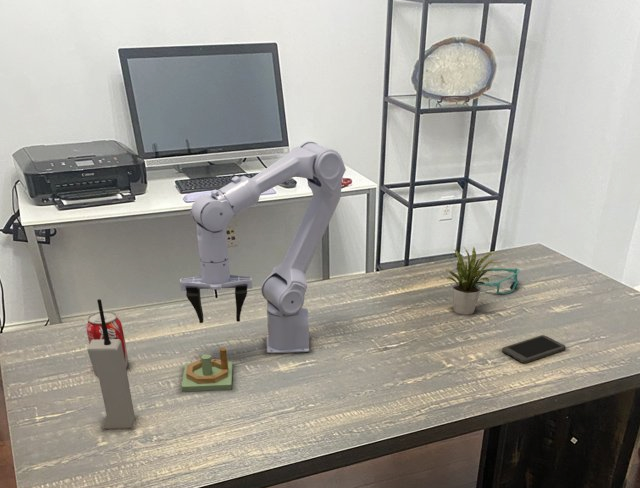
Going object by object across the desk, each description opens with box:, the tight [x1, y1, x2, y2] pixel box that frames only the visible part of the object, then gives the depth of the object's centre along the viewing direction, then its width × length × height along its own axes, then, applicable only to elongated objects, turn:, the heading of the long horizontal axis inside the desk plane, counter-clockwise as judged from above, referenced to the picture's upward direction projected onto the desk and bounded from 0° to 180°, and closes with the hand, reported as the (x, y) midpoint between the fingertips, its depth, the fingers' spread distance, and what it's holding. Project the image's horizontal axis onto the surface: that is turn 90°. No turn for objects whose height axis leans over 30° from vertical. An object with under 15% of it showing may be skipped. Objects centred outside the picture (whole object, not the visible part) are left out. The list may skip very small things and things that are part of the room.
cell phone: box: [501, 334, 566, 364], centre depth 156 cm, size 7×14×1 cm, turn 123°
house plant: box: [444, 247, 500, 316], centre depth 170 cm, size 14×14×16 cm
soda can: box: [85, 310, 129, 368], centre depth 142 cm, size 7×7×12 cm
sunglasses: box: [476, 267, 521, 295], centre depth 189 cm, size 14×15×5 cm
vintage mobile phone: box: [86, 298, 136, 430], centre depth 120 cm, size 4×5×25 cm
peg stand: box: [180, 353, 234, 392], centre depth 141 cm, size 10×10×5 cm
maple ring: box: [186, 347, 229, 384], centre depth 140 cm, size 8×8×6 cm
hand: (219, 320), depth 144 cm, fingers open, 7 cm apart
